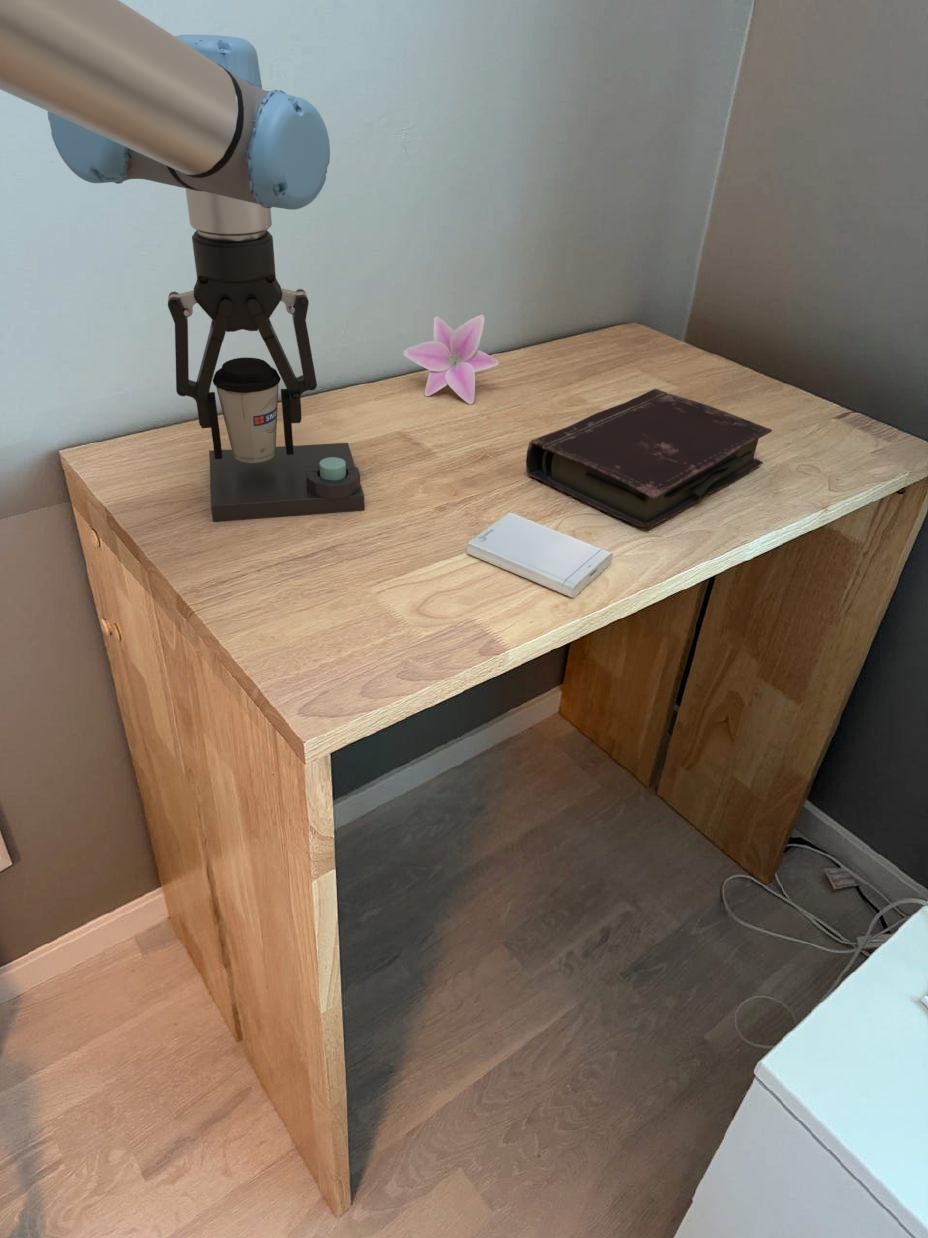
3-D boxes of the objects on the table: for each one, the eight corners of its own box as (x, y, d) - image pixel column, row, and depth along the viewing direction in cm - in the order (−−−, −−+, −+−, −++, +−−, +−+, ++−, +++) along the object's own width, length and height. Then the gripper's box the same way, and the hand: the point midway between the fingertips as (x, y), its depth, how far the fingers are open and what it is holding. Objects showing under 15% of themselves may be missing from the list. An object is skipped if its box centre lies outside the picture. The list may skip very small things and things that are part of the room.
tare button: (321, 482, 94) (320, 469, 93) (318, 470, 96) (317, 457, 95) (347, 480, 94) (347, 467, 93) (344, 468, 97) (343, 456, 96)
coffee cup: (208, 458, 96) (196, 369, 90) (246, 434, 101) (237, 349, 95) (262, 473, 94) (253, 383, 88) (298, 448, 99) (292, 361, 93)
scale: (213, 523, 92) (208, 493, 90) (211, 465, 102) (207, 437, 100) (365, 511, 95) (364, 483, 93) (348, 456, 106) (347, 429, 104)
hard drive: (466, 541, 89) (573, 585, 83) (510, 510, 94) (614, 549, 89) (466, 555, 90) (571, 600, 84) (509, 523, 95) (611, 563, 90)
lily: (394, 388, 126) (392, 342, 117) (447, 339, 130) (449, 291, 121) (458, 434, 123) (461, 391, 114) (510, 383, 127) (517, 338, 118)
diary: (522, 474, 104) (526, 435, 101) (644, 419, 119) (651, 383, 116) (651, 537, 94) (660, 495, 91) (767, 468, 109) (778, 430, 106)
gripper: (332, 220, 88) (339, 431, 102) (123, 221, 84) (161, 441, 98) (341, 239, 83) (348, 461, 96) (118, 241, 78) (159, 473, 92)
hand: (254, 451), depth 97 cm, fingers closed on coffee cup, 7 cm apart
